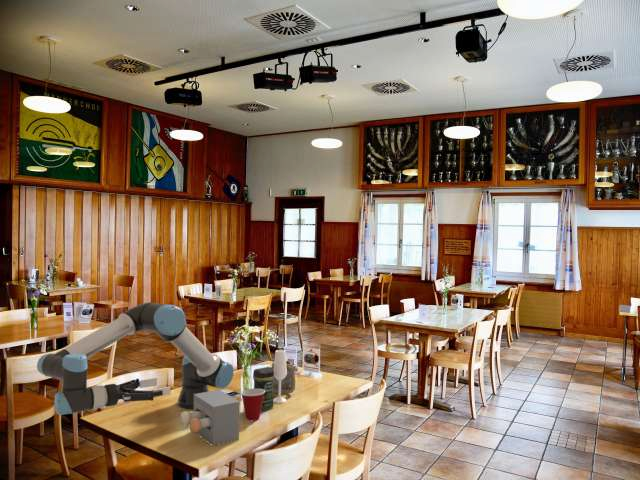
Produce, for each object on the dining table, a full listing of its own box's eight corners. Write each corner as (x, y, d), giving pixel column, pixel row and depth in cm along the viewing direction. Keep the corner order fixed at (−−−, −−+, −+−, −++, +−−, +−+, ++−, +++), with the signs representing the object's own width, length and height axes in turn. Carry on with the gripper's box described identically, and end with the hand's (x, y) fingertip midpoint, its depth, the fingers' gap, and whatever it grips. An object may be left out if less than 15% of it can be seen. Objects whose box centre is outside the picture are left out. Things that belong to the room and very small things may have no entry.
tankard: (265, 388, 260) (266, 359, 260) (286, 384, 267) (287, 356, 267) (284, 399, 243) (284, 368, 243) (306, 395, 250) (306, 365, 250)
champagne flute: (273, 403, 237) (274, 352, 237) (271, 398, 244) (272, 349, 244) (287, 402, 239) (288, 352, 238) (285, 397, 245) (286, 349, 245)
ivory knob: (180, 423, 196) (180, 410, 196) (207, 417, 203) (207, 404, 203) (185, 427, 192) (185, 414, 192) (212, 421, 199) (213, 408, 199)
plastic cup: (253, 411, 225) (253, 385, 225) (269, 417, 218) (270, 390, 218) (234, 418, 217) (235, 391, 217) (251, 424, 210) (252, 396, 210)
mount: (193, 431, 202) (193, 394, 202) (218, 425, 209) (218, 389, 209) (212, 446, 188) (213, 407, 188) (238, 439, 195) (239, 401, 194)
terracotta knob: (189, 430, 190) (189, 416, 190) (216, 423, 197) (216, 410, 197) (194, 435, 186) (194, 421, 186) (222, 428, 193) (222, 414, 193)
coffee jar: (259, 412, 224) (260, 371, 224) (249, 407, 230) (250, 367, 230) (276, 407, 231) (277, 368, 231) (266, 403, 237) (267, 364, 237)
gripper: (94, 397, 185) (151, 387, 199) (114, 417, 166) (176, 405, 179) (94, 377, 185) (151, 368, 198) (115, 394, 166) (176, 384, 179)
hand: (163, 386), depth 189 cm, fingers open, 13 cm apart
